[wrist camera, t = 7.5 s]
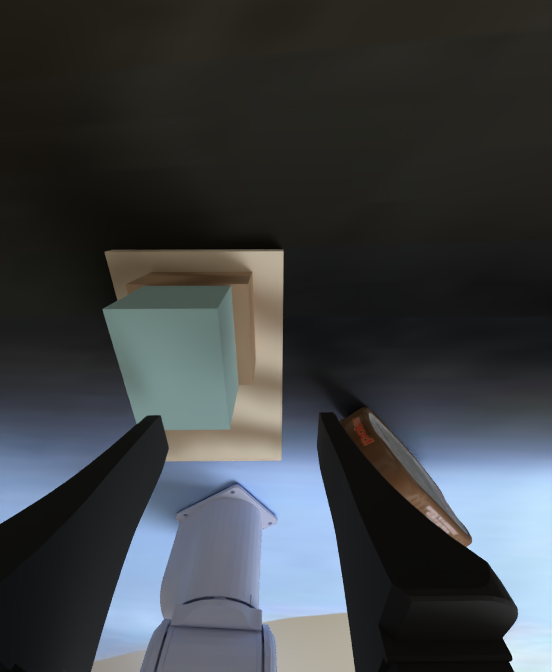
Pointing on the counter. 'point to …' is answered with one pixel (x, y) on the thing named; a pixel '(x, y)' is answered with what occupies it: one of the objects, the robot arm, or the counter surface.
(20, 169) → the counter surface
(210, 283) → the walnut block
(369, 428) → the tin
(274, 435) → the birch board
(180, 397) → the teal brick
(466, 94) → the counter surface
